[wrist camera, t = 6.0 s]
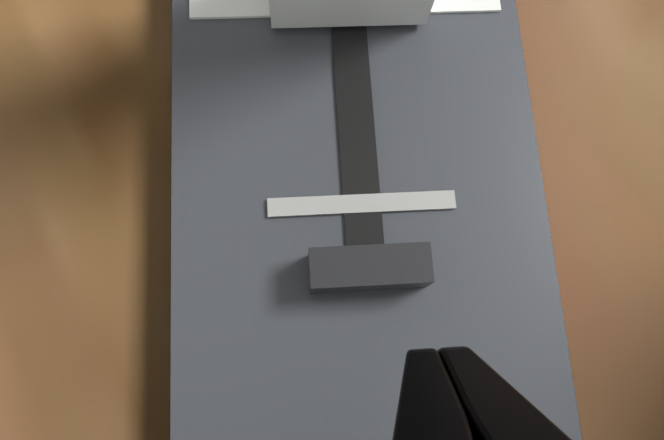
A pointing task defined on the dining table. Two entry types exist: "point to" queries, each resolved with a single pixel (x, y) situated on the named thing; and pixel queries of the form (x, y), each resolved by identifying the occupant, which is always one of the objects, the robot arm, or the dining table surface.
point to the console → (353, 219)
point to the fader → (348, 13)
